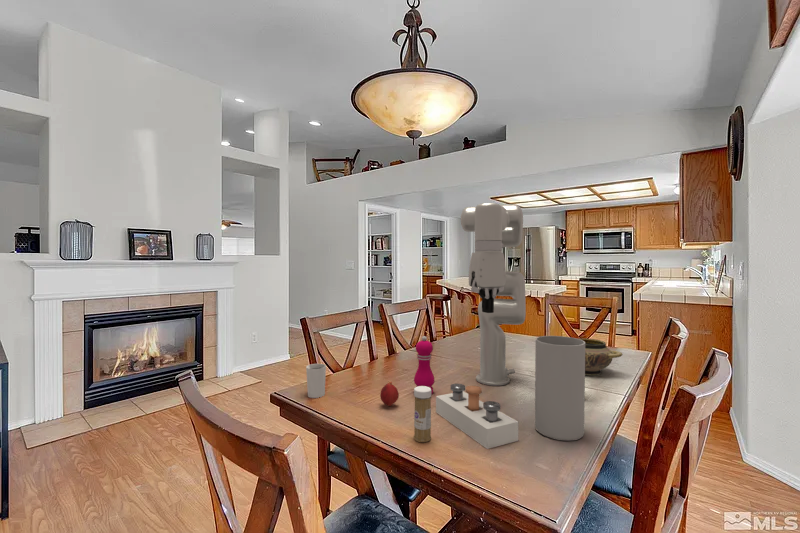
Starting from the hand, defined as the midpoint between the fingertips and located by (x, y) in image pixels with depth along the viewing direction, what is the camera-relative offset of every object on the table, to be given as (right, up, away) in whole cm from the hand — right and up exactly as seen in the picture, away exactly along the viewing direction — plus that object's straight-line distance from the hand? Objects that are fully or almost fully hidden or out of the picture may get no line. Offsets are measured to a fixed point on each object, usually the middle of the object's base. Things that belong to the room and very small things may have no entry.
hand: (487, 312), depth 109 cm
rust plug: (-4, -30, 0) cm, 30 cm away
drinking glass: (-54, -32, +24) cm, 67 cm away
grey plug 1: (-7, -31, +7) cm, 33 cm away
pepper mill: (-16, -32, +26) cm, 44 cm away
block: (-4, -32, 0) cm, 32 cm away
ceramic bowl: (+53, -31, +50) cm, 79 cm away
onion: (-28, -32, +14) cm, 45 cm away
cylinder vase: (+19, -32, -4) cm, 38 cm away
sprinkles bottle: (-19, -33, -8) cm, 39 cm away
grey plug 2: (-1, -32, -7) cm, 32 cm away
